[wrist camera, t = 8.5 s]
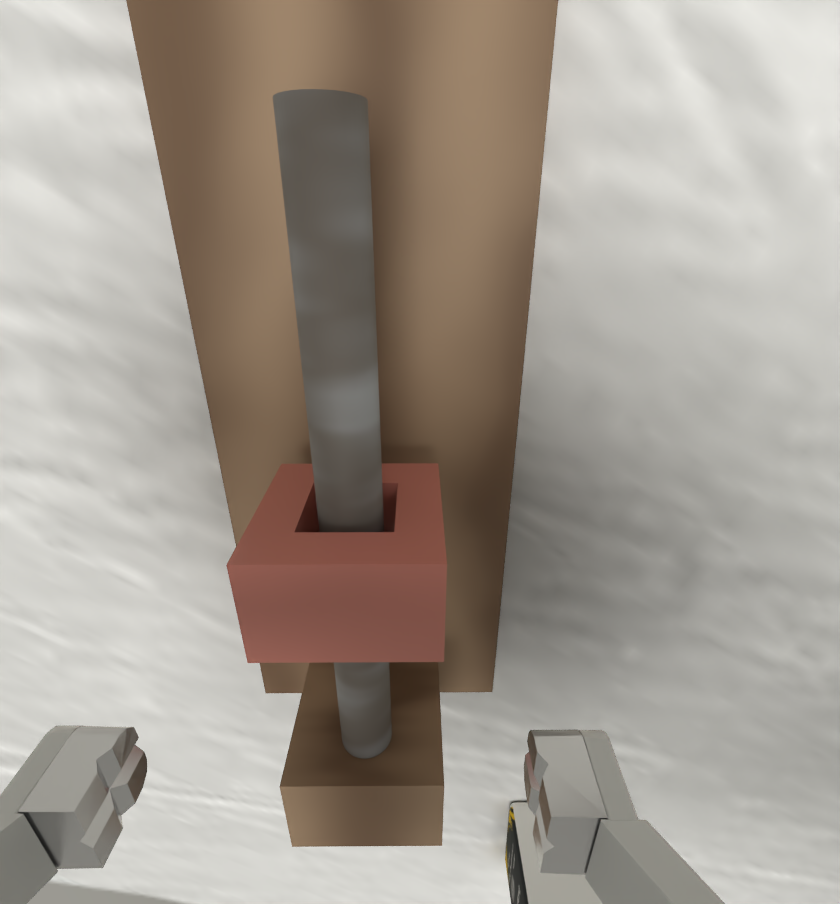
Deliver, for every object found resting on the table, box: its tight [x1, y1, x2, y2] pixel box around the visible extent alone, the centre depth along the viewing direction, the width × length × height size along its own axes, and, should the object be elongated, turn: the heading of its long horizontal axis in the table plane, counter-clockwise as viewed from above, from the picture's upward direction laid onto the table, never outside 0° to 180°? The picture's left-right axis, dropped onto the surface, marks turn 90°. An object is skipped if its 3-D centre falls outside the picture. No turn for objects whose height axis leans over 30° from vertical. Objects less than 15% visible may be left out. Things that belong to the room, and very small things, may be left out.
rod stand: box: [126, 0, 558, 847], centre depth 17 cm, size 12×30×9 cm, turn 0°
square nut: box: [227, 463, 447, 663], centre depth 16 cm, size 6×4×6 cm, turn 90°
